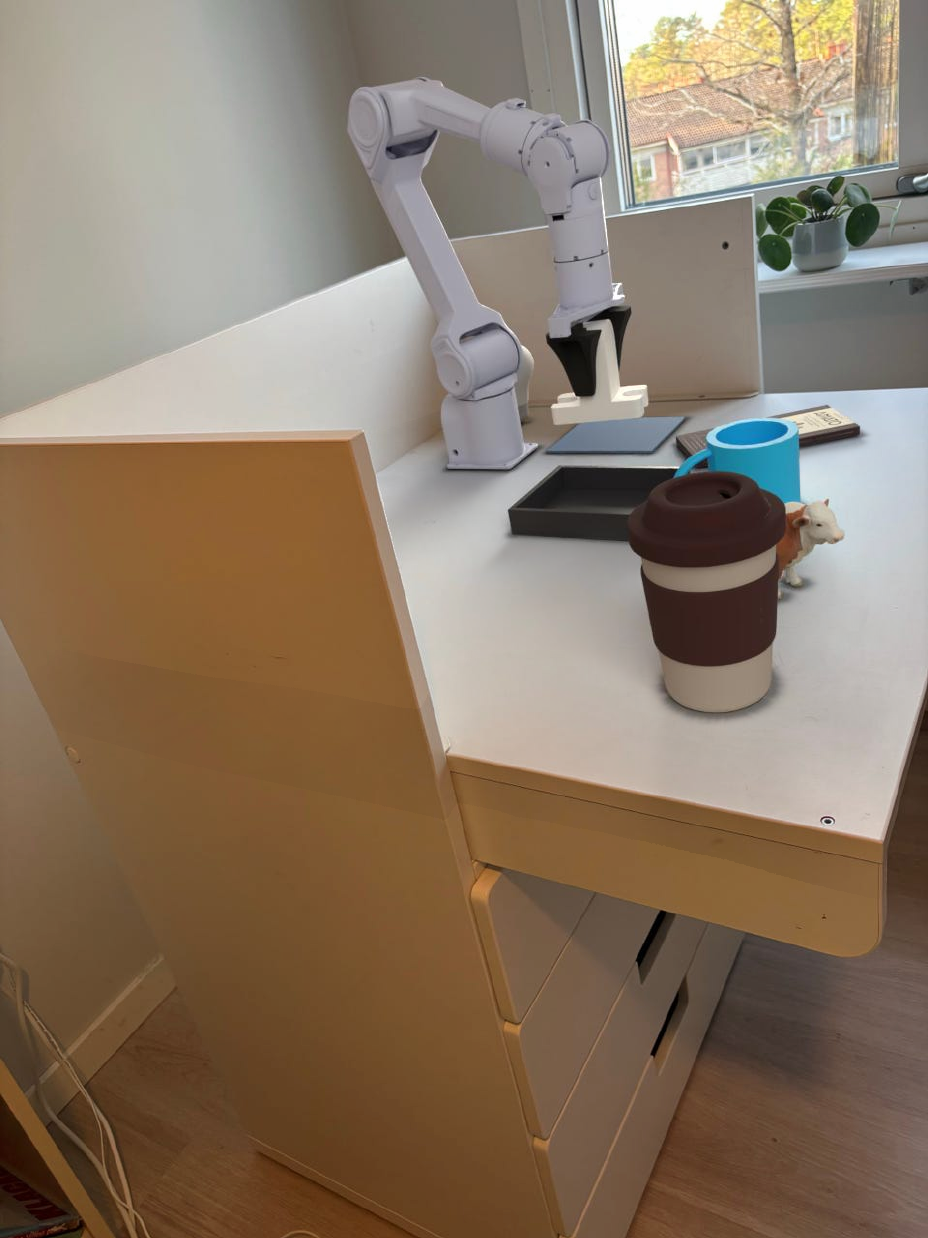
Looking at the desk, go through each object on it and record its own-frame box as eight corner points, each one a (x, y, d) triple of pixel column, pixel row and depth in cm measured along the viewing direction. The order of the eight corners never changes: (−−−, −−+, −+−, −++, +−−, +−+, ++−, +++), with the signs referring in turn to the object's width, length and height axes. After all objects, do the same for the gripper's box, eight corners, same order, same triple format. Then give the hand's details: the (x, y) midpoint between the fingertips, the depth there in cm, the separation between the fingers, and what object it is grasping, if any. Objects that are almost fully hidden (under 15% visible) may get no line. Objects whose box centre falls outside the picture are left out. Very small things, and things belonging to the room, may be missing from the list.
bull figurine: (842, 609, 71) (841, 512, 68) (671, 600, 78) (661, 511, 74) (850, 582, 75) (849, 488, 71) (684, 576, 81) (676, 489, 77)
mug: (782, 490, 93) (779, 411, 89) (814, 520, 86) (813, 436, 82) (664, 515, 93) (656, 437, 89) (686, 547, 86) (678, 464, 82)
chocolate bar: (675, 435, 110) (827, 404, 109) (676, 443, 110) (827, 412, 109) (696, 459, 102) (860, 426, 101) (696, 467, 102) (859, 434, 101)
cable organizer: (641, 417, 99) (631, 322, 94) (552, 425, 102) (538, 334, 98) (649, 401, 103) (640, 310, 98) (563, 409, 107) (550, 321, 102)
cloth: (546, 453, 117) (546, 450, 117) (585, 420, 125) (585, 418, 125) (652, 453, 109) (651, 450, 109) (685, 418, 118) (685, 416, 118)
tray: (512, 534, 97) (507, 509, 95) (562, 488, 105) (558, 465, 104) (650, 542, 88) (647, 515, 87) (692, 491, 97) (690, 466, 96)
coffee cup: (631, 720, 64) (605, 523, 57) (664, 646, 72) (644, 463, 65) (781, 733, 60) (772, 521, 53) (800, 652, 67) (794, 457, 60)
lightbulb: (513, 432, 127) (499, 352, 122) (492, 424, 132) (477, 347, 127) (550, 418, 129) (538, 339, 124) (528, 411, 134) (515, 335, 129)
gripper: (586, 268, 88) (604, 407, 94) (644, 236, 98) (656, 364, 104) (521, 275, 91) (542, 408, 98) (583, 244, 102) (598, 367, 108)
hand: (597, 386), depth 101 cm, fingers closed on cable organizer, 6 cm apart
